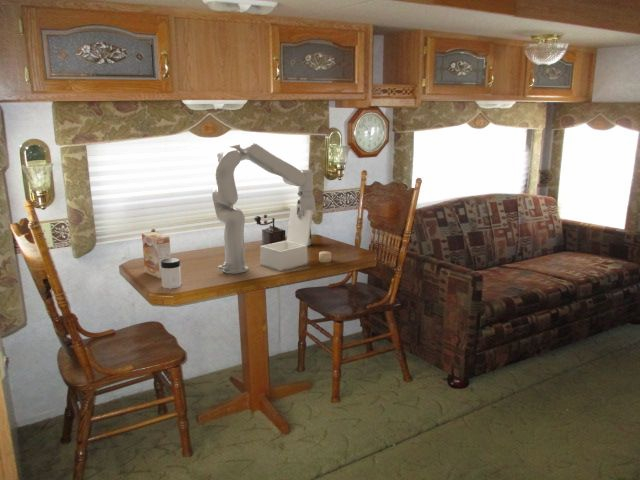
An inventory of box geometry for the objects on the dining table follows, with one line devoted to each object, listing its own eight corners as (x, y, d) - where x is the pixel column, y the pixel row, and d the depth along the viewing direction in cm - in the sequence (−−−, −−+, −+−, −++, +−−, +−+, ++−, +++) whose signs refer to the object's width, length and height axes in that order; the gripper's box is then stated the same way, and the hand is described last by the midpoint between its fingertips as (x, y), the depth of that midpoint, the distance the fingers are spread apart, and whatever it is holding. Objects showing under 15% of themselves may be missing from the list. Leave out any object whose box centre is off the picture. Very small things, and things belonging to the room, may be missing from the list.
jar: (165, 290, 238) (163, 264, 235) (159, 285, 244) (157, 260, 242) (184, 286, 243) (183, 260, 240) (178, 282, 249) (176, 257, 247)
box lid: (311, 210, 274) (312, 210, 275) (290, 206, 285) (292, 207, 286) (306, 246, 276) (308, 246, 277) (286, 241, 287) (288, 241, 288)
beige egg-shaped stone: (325, 263, 280) (325, 255, 279) (316, 261, 284) (316, 252, 283) (333, 261, 284) (333, 252, 283) (325, 258, 289) (325, 250, 288)
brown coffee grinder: (276, 242, 326) (275, 213, 322) (286, 245, 318) (285, 215, 314) (253, 246, 317) (252, 216, 313) (263, 249, 309) (262, 218, 305)
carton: (280, 271, 266) (280, 251, 263) (260, 264, 277) (259, 246, 275) (307, 264, 278) (307, 245, 276) (286, 258, 289) (286, 240, 287)
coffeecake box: (144, 272, 265) (141, 233, 261) (157, 269, 270) (154, 231, 265) (159, 278, 255) (156, 238, 250) (172, 275, 260) (170, 236, 255)
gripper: (299, 195, 272) (300, 231, 277) (320, 193, 283) (320, 227, 287) (290, 194, 278) (290, 229, 282) (311, 191, 288) (311, 225, 292)
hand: (305, 228), depth 284 cm, fingers closed
